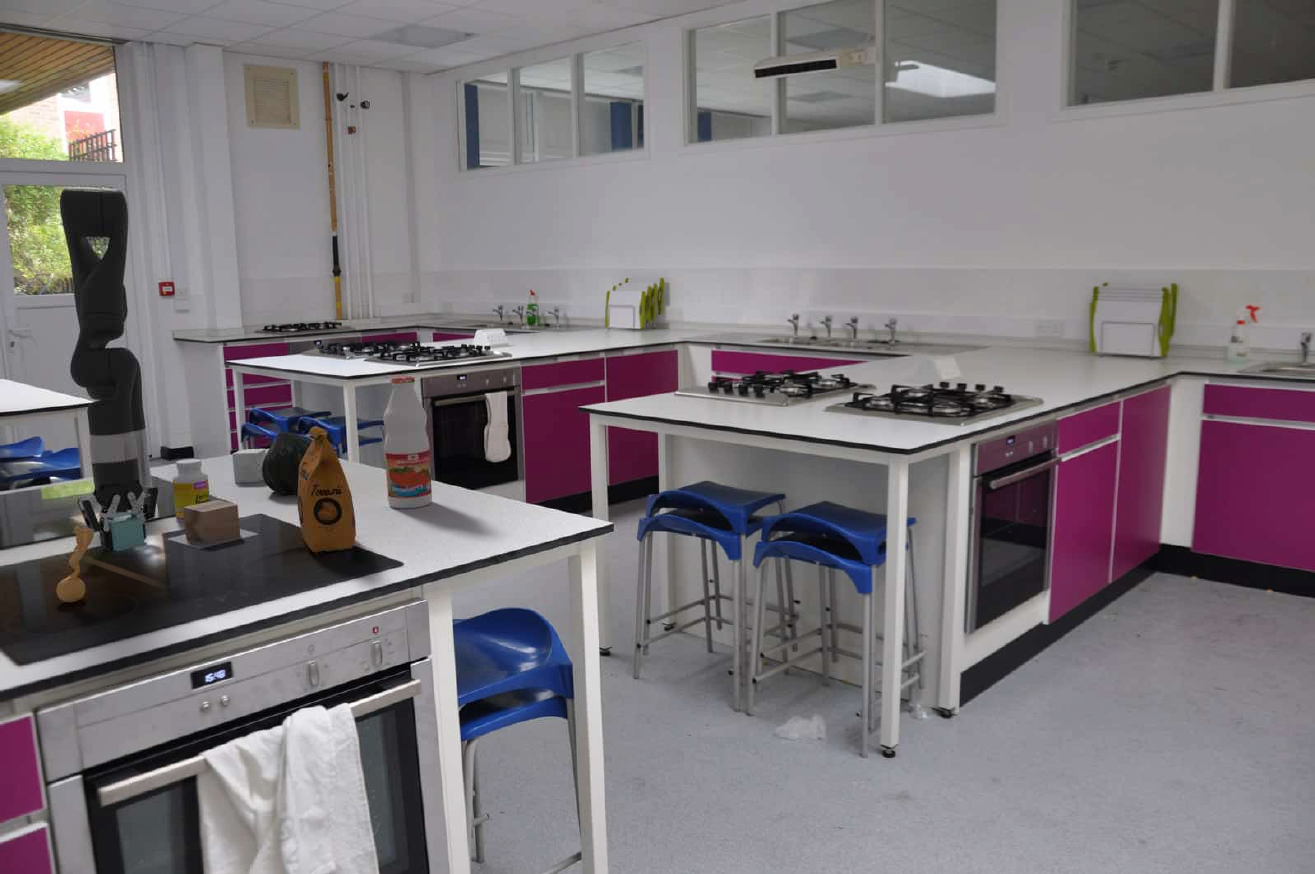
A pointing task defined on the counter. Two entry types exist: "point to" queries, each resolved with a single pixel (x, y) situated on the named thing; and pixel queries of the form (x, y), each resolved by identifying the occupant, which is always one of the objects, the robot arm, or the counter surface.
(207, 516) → the walnut block
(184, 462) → the supplement bottle
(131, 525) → the teal block
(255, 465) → the skincare box
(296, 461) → the squash
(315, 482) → the coffee package
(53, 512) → the counter surface
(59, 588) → the figurine
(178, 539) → the slate pad
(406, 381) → the fruit juice
